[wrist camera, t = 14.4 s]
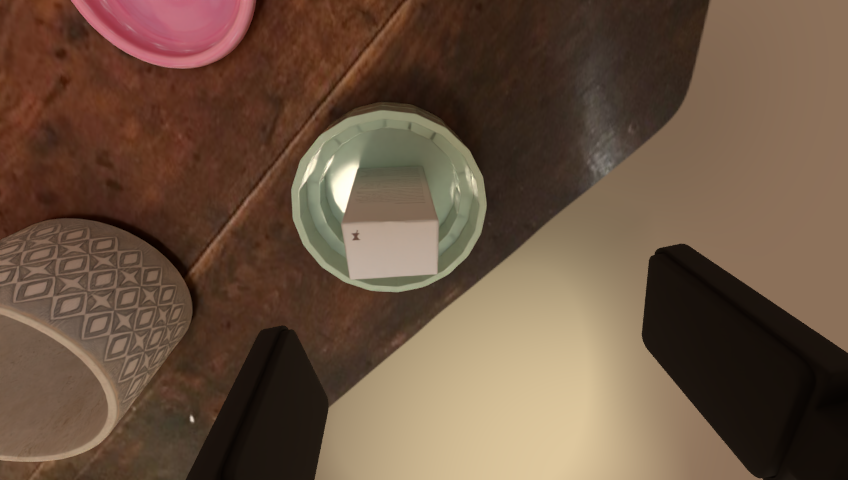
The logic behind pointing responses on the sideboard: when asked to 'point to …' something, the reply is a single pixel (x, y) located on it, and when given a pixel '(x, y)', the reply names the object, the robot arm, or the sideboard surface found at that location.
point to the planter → (80, 333)
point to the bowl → (377, 148)
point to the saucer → (171, 28)
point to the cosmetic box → (390, 224)
